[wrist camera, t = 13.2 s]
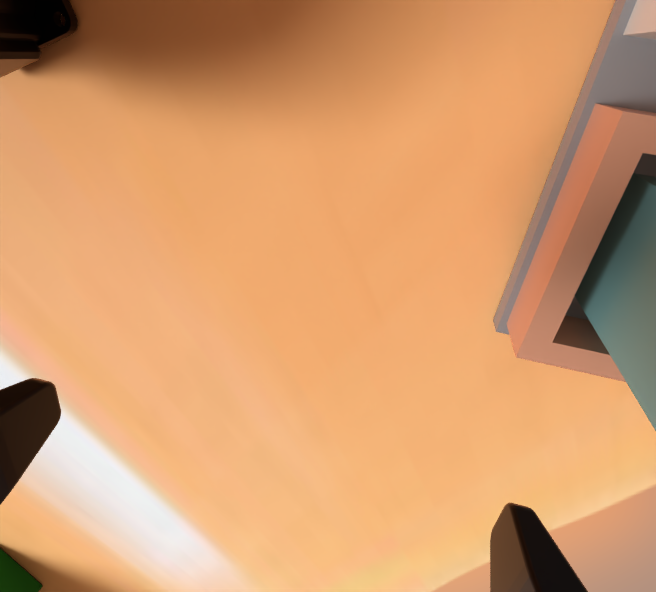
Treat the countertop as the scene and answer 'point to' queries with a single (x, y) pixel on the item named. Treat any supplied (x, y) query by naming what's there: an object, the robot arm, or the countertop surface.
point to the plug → (627, 290)
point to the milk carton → (15, 576)
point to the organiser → (585, 197)
